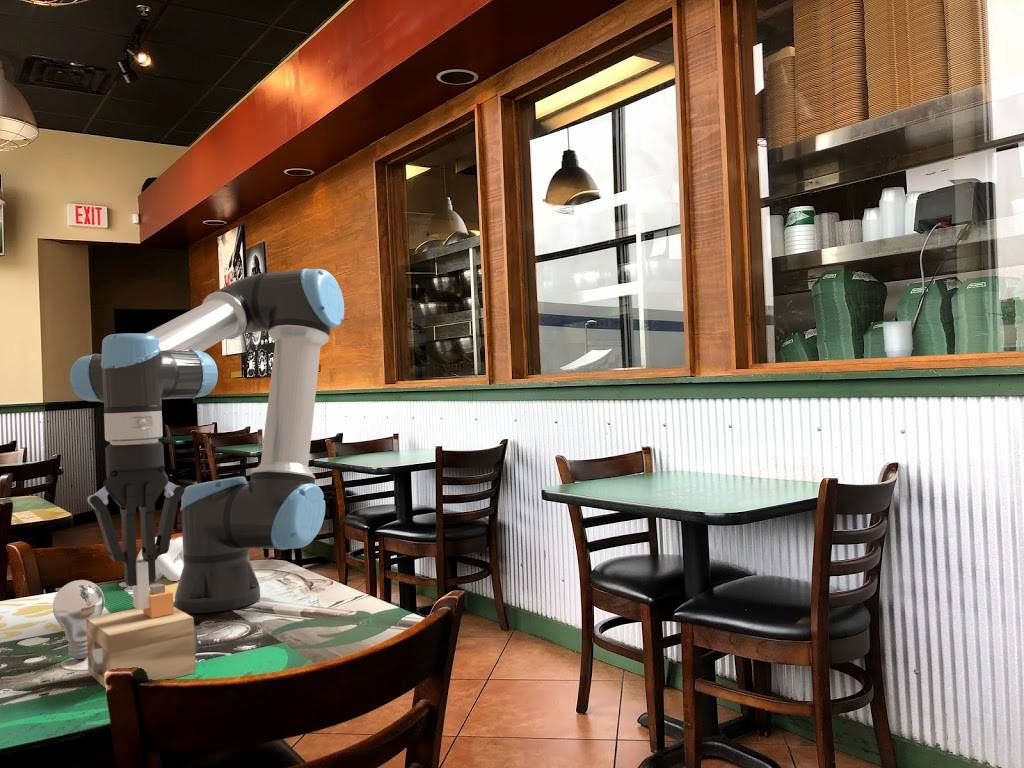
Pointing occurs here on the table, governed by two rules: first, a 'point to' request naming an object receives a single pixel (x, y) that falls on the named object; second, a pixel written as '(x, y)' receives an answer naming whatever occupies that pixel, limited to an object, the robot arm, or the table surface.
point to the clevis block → (143, 643)
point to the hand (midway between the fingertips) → (141, 606)
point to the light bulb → (77, 613)
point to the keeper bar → (159, 602)
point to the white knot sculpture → (169, 561)
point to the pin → (98, 656)
